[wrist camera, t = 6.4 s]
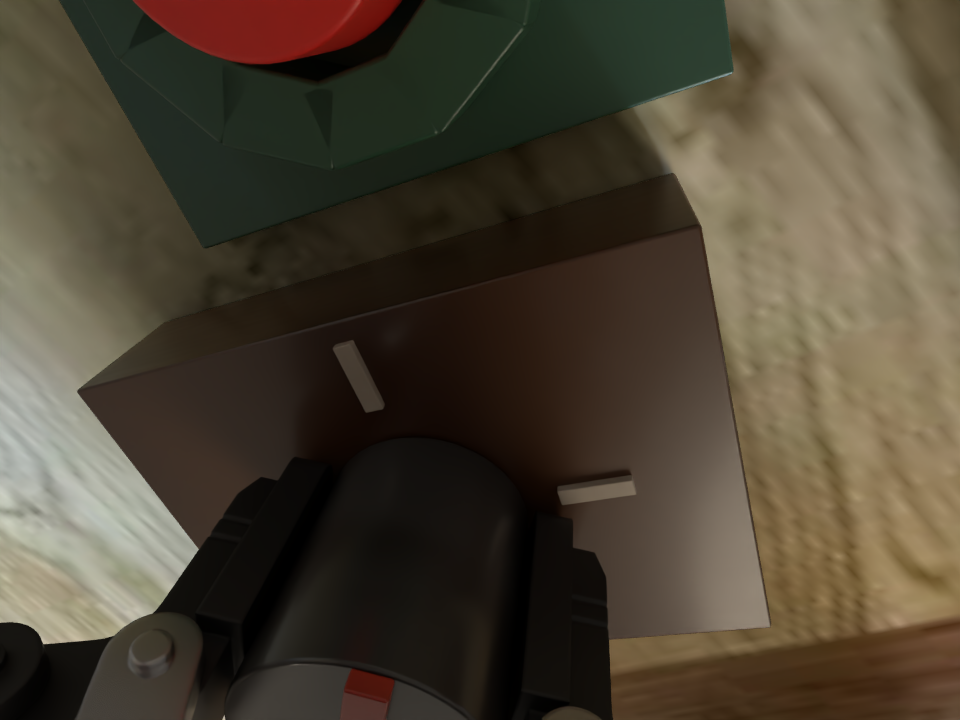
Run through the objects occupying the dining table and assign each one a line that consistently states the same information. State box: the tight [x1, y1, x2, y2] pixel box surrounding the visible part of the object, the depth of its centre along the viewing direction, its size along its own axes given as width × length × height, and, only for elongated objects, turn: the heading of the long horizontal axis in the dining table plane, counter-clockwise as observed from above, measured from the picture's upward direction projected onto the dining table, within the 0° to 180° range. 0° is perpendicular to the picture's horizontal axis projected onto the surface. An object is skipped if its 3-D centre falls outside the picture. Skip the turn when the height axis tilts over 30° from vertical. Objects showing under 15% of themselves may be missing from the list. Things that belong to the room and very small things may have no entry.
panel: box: [77, 173, 771, 640], centre depth 13 cm, size 12×9×3 cm
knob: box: [224, 437, 529, 720], centre depth 10 cm, size 4×4×5 cm
